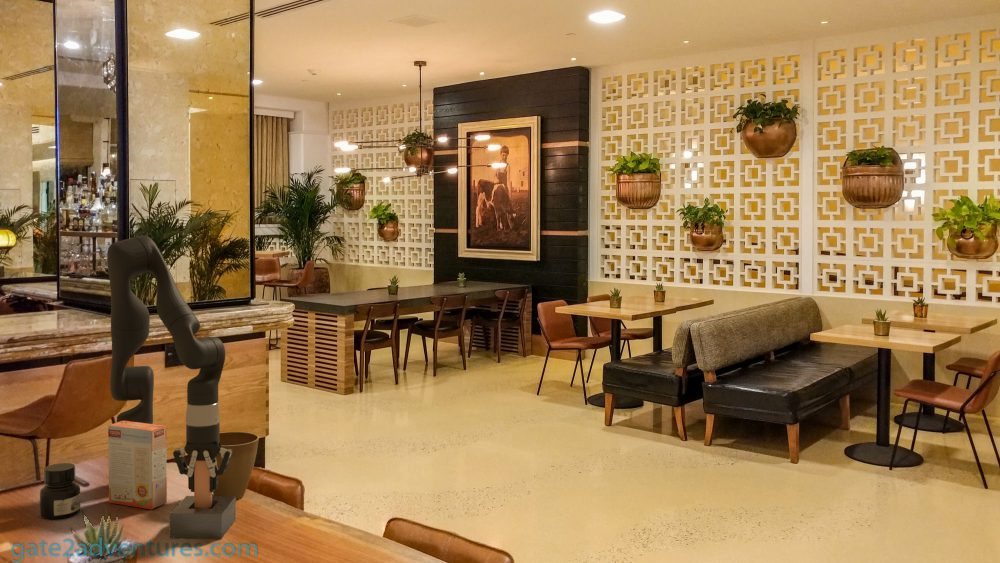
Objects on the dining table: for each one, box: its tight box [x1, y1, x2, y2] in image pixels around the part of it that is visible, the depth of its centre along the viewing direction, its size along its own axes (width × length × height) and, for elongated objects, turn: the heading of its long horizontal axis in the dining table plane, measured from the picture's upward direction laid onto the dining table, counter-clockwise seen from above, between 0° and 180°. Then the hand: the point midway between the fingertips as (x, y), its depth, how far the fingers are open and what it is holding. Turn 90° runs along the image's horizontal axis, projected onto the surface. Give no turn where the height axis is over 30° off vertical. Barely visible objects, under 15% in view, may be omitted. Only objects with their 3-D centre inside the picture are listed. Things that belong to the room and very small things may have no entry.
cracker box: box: [107, 421, 168, 510], centre depth 215 cm, size 14×6×21 cm, turn 71°
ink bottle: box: [39, 462, 81, 520], centre depth 207 cm, size 10×9×12 cm
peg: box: [193, 461, 213, 509], centre depth 199 cm, size 4×4×14 cm
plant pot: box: [212, 431, 260, 500], centre depth 223 cm, size 15×15×16 cm
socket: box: [169, 495, 237, 540], centre depth 200 cm, size 12×12×6 cm
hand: (203, 490), depth 200 cm, fingers closed on peg, 4 cm apart
